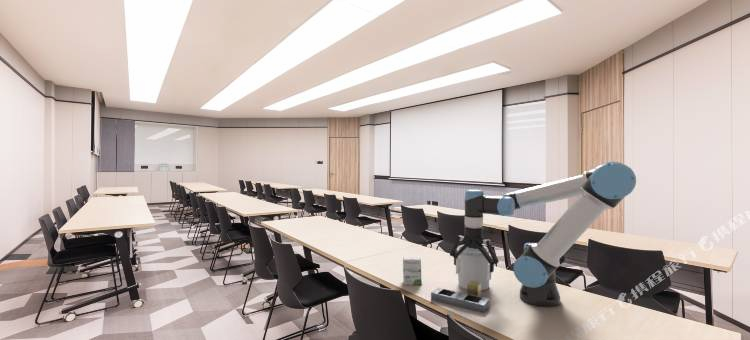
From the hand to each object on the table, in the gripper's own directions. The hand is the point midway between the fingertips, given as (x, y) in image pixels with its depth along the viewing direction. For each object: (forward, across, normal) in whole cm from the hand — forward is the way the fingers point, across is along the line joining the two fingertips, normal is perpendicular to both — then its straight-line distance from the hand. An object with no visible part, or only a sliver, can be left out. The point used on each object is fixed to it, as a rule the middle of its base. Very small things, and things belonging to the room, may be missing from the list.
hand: (473, 276), depth 139 cm
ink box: (+10, +29, 0) cm, 31 cm away
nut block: (+9, -1, 0) cm, 9 cm away
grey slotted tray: (+9, +2, +9) cm, 13 cm away
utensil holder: (+9, +4, -13) cm, 17 cm away
